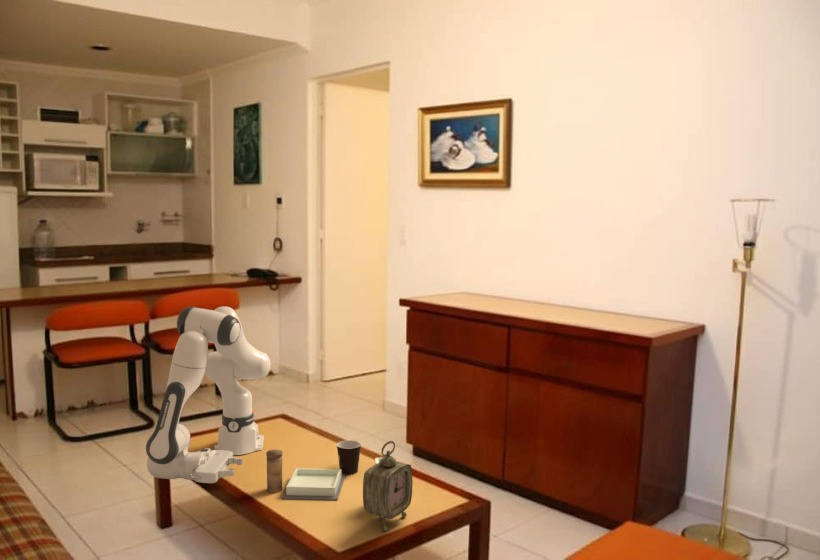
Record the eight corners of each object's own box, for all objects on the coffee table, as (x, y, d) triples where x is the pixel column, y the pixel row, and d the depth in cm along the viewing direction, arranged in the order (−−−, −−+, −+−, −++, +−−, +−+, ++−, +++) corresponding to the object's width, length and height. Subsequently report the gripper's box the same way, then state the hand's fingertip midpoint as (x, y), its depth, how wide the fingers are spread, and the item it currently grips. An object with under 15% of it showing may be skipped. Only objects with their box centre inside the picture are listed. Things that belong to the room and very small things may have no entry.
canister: (268, 486, 228) (268, 449, 227) (284, 486, 228) (283, 449, 227) (265, 492, 223) (264, 454, 222) (280, 493, 223) (280, 455, 221)
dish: (296, 475, 236) (296, 468, 236) (341, 476, 236) (341, 469, 235) (286, 495, 220) (286, 486, 220) (335, 496, 220) (335, 487, 219)
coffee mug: (357, 476, 237) (357, 449, 236) (333, 474, 239) (333, 447, 238) (365, 464, 248) (365, 438, 247) (343, 462, 250) (343, 436, 249)
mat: (294, 474, 238) (294, 473, 238) (345, 476, 238) (345, 474, 238) (281, 499, 218) (281, 497, 218) (337, 500, 218) (337, 498, 218)
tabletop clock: (385, 535, 195) (386, 451, 192) (360, 527, 200) (360, 445, 197) (412, 516, 207) (413, 437, 204) (387, 509, 212) (388, 432, 209)
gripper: (186, 468, 215) (229, 469, 214) (207, 446, 235) (246, 447, 235) (186, 487, 215) (229, 488, 215) (207, 463, 236) (246, 464, 235)
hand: (238, 467), depth 225 cm, fingers open, 8 cm apart
